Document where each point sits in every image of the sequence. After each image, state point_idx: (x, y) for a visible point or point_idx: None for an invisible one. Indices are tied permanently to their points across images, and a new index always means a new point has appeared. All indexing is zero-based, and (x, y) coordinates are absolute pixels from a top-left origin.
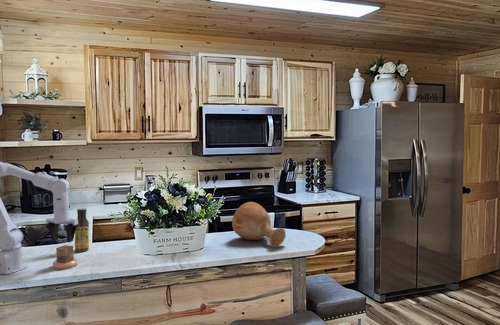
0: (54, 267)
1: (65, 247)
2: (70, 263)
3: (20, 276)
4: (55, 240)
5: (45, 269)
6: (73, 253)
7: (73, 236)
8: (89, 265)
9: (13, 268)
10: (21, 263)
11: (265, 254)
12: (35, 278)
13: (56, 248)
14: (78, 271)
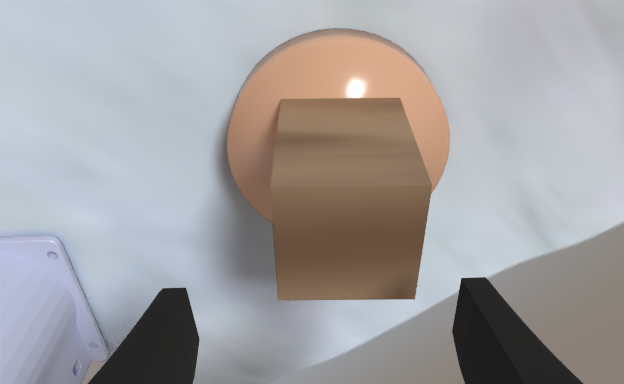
0: None
1: (377, 262)
2: (436, 183)
3: (209, 349)
4: (192, 324)
5: (240, 230)
6: (411, 133)
7: (529, 336)
8: (567, 47)
9: (71, 338)
10: (44, 304)
11: None
12: (333, 348)
13: (280, 295)
14: (546, 198)
